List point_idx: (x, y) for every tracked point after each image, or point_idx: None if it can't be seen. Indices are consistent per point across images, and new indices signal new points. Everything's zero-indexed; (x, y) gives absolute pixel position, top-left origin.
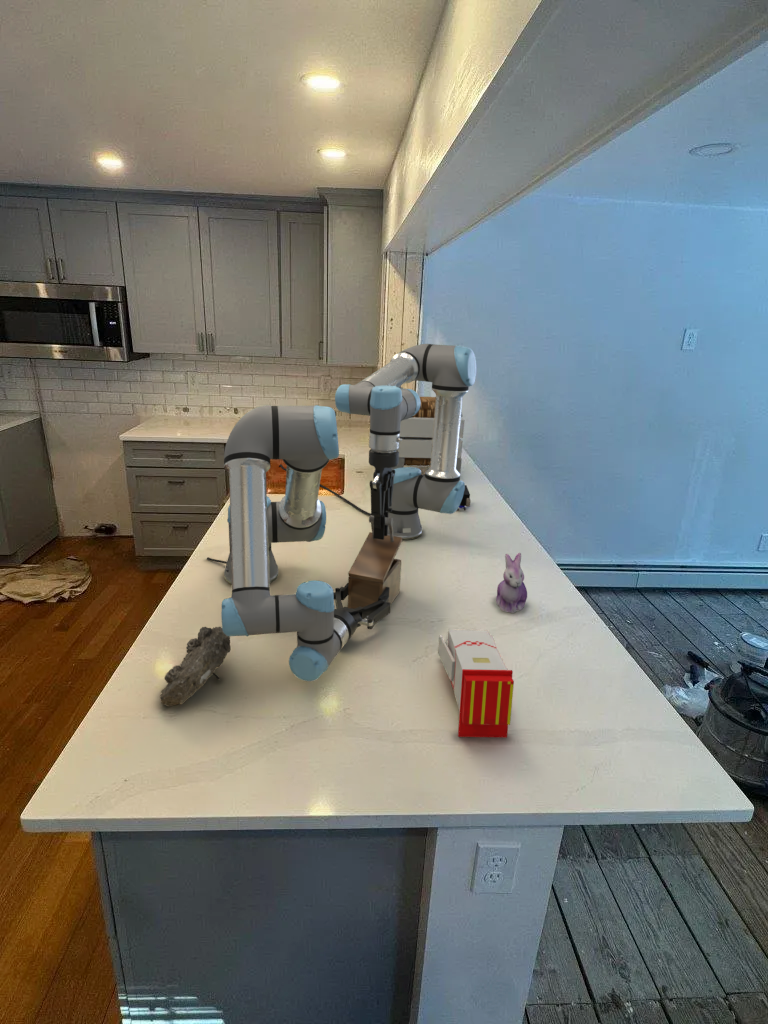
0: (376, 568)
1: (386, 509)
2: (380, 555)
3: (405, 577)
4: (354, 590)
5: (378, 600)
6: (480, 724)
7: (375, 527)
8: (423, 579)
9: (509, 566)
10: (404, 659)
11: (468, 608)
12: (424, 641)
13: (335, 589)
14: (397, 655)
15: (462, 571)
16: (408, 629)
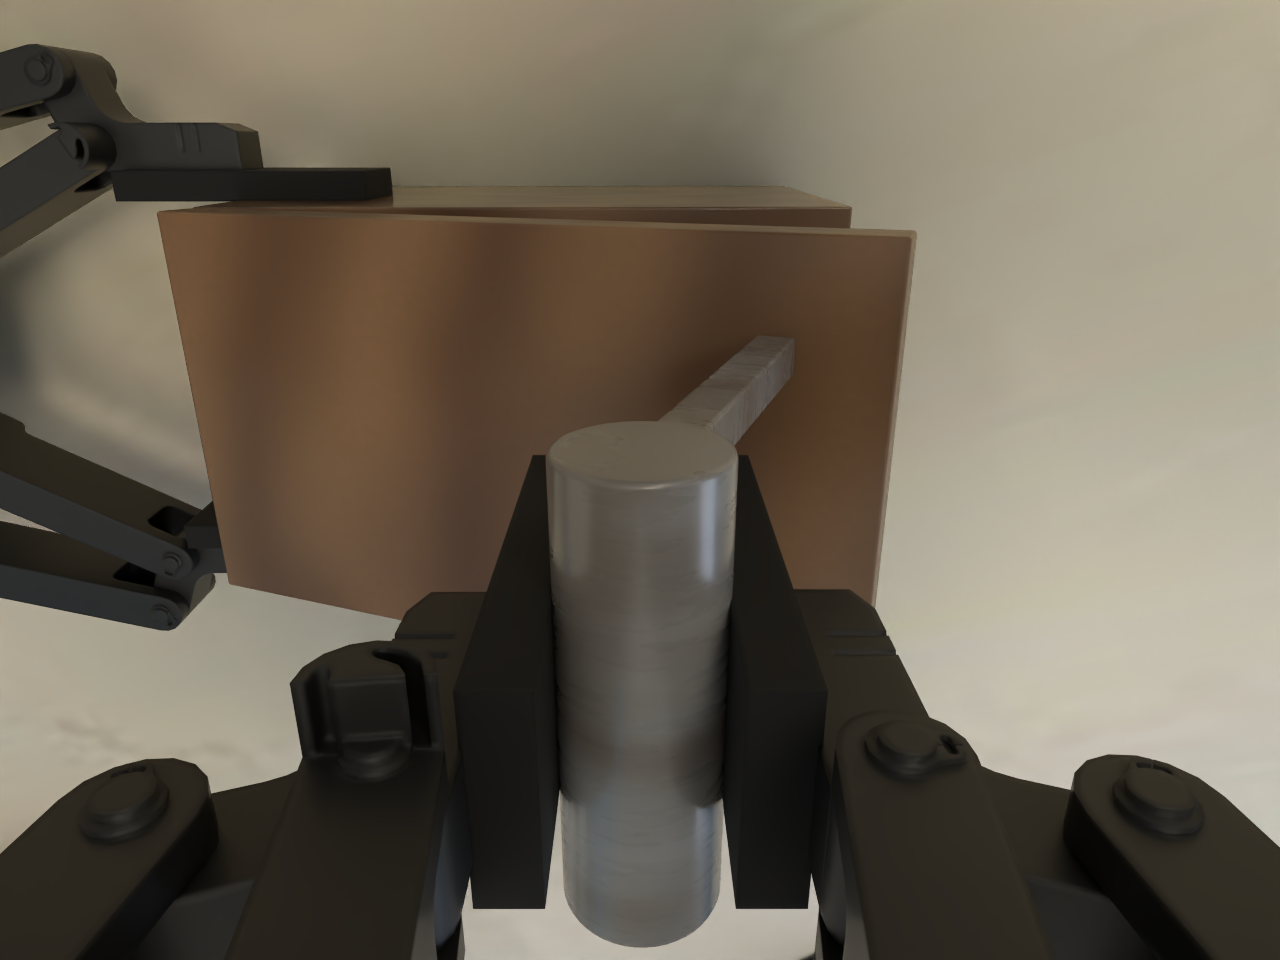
0: (318, 501)
1: (821, 918)
2: (496, 506)
3: (1029, 409)
4: None
5: (194, 520)
6: None
7: (428, 604)
8: (1031, 536)
9: None
10: (47, 683)
11: (723, 844)
12: (266, 726)
13: (52, 127)
14: (56, 644)
15: (1225, 732)
16: (335, 624)
